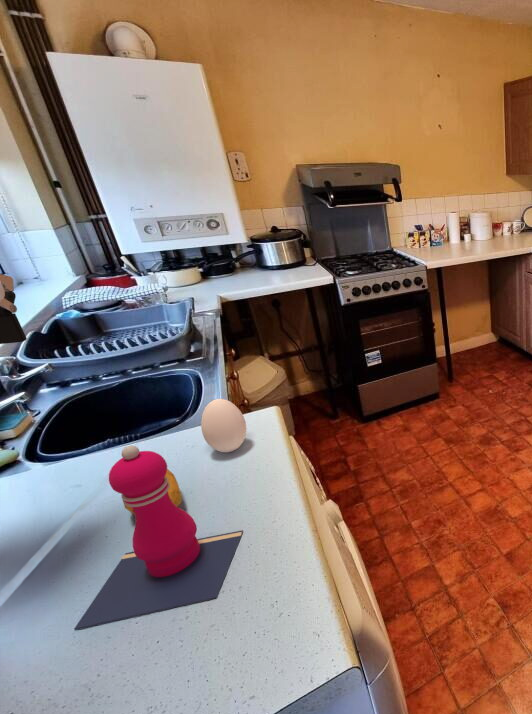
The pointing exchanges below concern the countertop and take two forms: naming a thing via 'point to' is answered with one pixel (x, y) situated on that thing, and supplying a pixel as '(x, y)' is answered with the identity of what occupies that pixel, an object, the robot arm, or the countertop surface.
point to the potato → (173, 491)
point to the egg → (223, 425)
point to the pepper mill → (154, 513)
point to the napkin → (162, 584)
